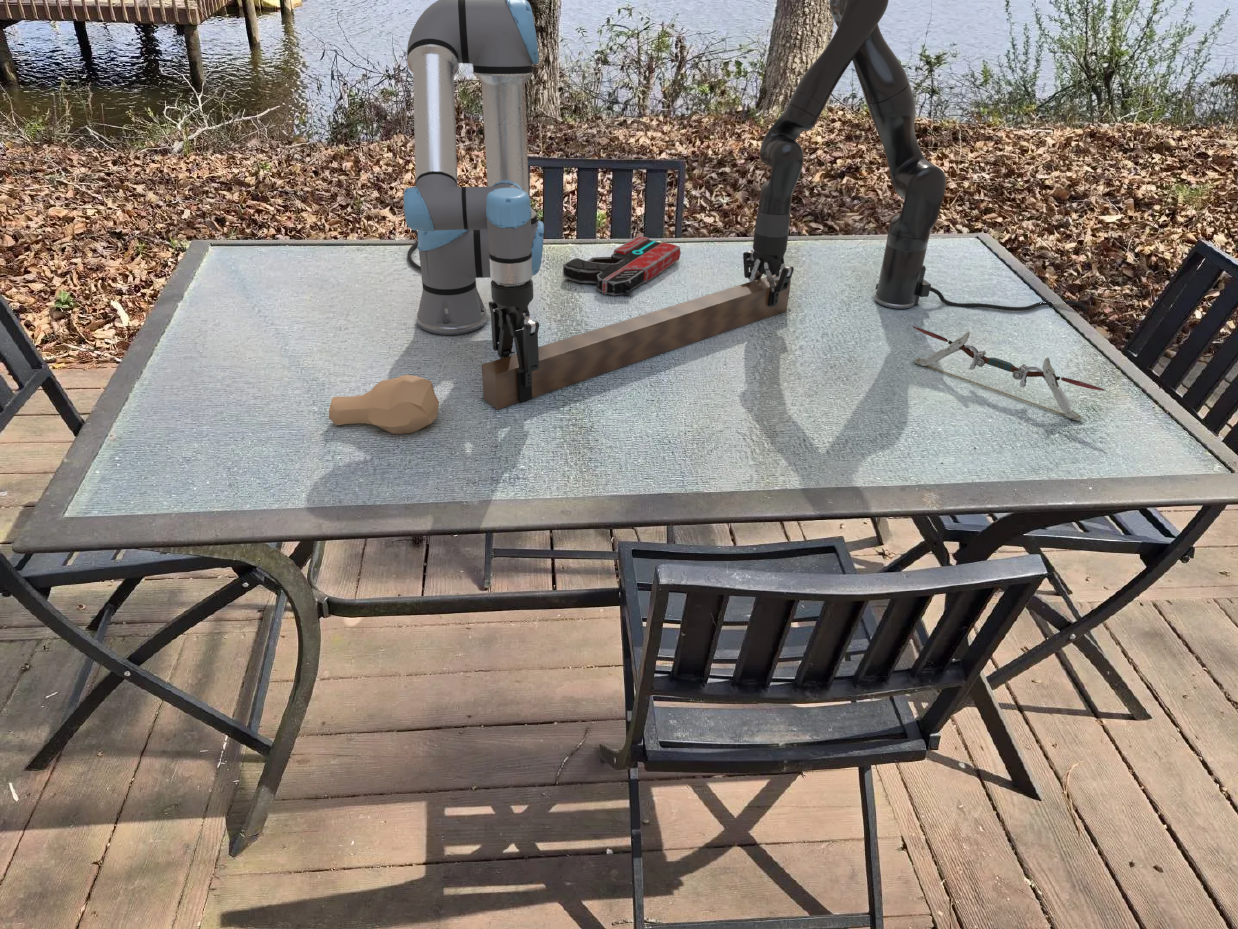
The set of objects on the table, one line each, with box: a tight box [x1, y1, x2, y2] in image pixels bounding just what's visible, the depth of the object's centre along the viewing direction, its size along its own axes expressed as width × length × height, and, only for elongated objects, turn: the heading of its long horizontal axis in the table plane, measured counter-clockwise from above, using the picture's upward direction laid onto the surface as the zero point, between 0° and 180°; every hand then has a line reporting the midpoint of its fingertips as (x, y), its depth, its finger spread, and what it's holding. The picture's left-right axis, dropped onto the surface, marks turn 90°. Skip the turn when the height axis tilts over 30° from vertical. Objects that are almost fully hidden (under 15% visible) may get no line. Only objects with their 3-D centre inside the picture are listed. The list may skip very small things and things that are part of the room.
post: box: [481, 274, 792, 411], centre depth 185 cm, size 80×5×8 cm, turn 128°
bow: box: [912, 325, 1106, 421], centre depth 173 cm, size 39×2×10 cm, turn 47°
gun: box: [562, 235, 682, 297], centre depth 223 cm, size 4×31×19 cm
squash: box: [328, 374, 440, 435], centre depth 157 cm, size 11×20×9 cm, turn 90°
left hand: (517, 393), depth 169 cm, fingers closed on post, 5 cm apart
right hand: (762, 301), depth 204 cm, fingers closed on post, 5 cm apart
